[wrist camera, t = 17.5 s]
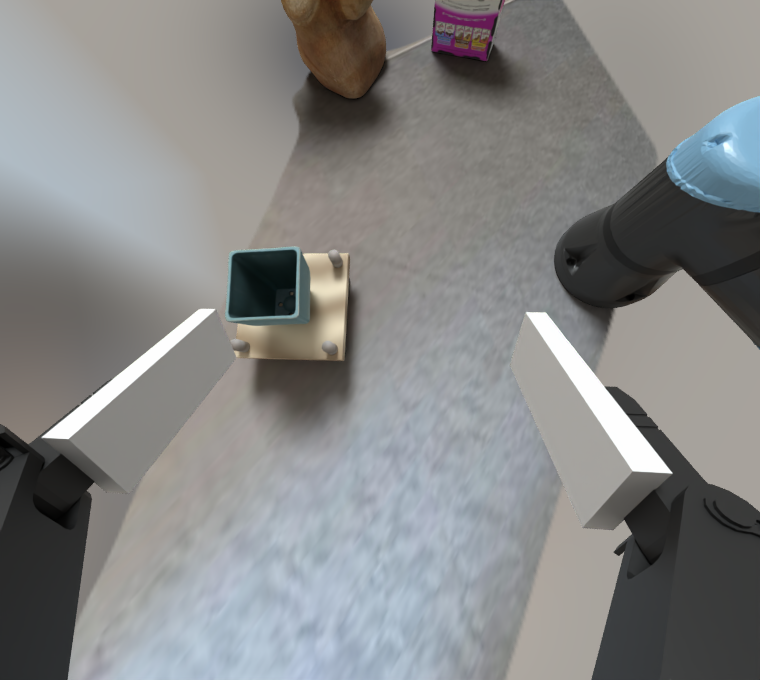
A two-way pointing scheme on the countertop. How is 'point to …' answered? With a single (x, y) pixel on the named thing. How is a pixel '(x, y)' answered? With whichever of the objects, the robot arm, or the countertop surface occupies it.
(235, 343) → the plant stand
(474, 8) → the candy bar box
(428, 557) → the countertop surface
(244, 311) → the flower pot
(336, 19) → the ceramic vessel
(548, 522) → the countertop surface
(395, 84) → the countertop surface
